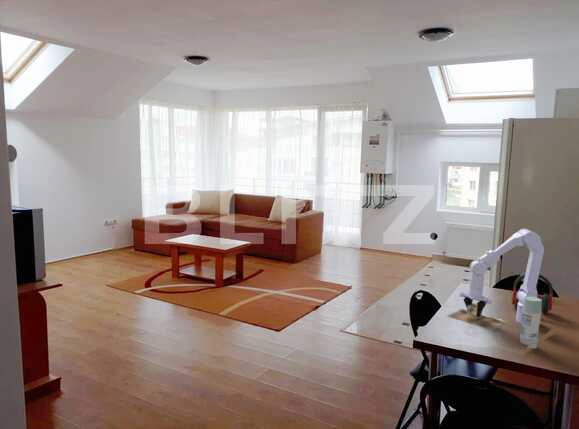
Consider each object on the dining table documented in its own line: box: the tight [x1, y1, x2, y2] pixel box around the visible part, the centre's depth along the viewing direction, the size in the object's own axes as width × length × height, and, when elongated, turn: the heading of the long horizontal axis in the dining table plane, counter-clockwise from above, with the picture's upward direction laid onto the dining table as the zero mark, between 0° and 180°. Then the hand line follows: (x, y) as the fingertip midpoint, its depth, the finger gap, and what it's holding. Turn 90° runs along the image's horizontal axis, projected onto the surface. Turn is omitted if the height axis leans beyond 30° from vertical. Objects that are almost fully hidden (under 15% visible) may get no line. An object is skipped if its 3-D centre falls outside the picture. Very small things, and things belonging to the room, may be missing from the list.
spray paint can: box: [519, 296, 542, 350], centre depth 182 cm, size 6×6×20 cm
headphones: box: [511, 272, 554, 315], centre depth 224 cm, size 18×10×20 cm, turn 64°
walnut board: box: [446, 308, 509, 331], centre depth 209 cm, size 22×16×3 cm
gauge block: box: [466, 302, 481, 320], centre depth 209 cm, size 4×9×6 cm, turn 133°
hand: (473, 314), depth 210 cm, fingers closed on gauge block, 4 cm apart
